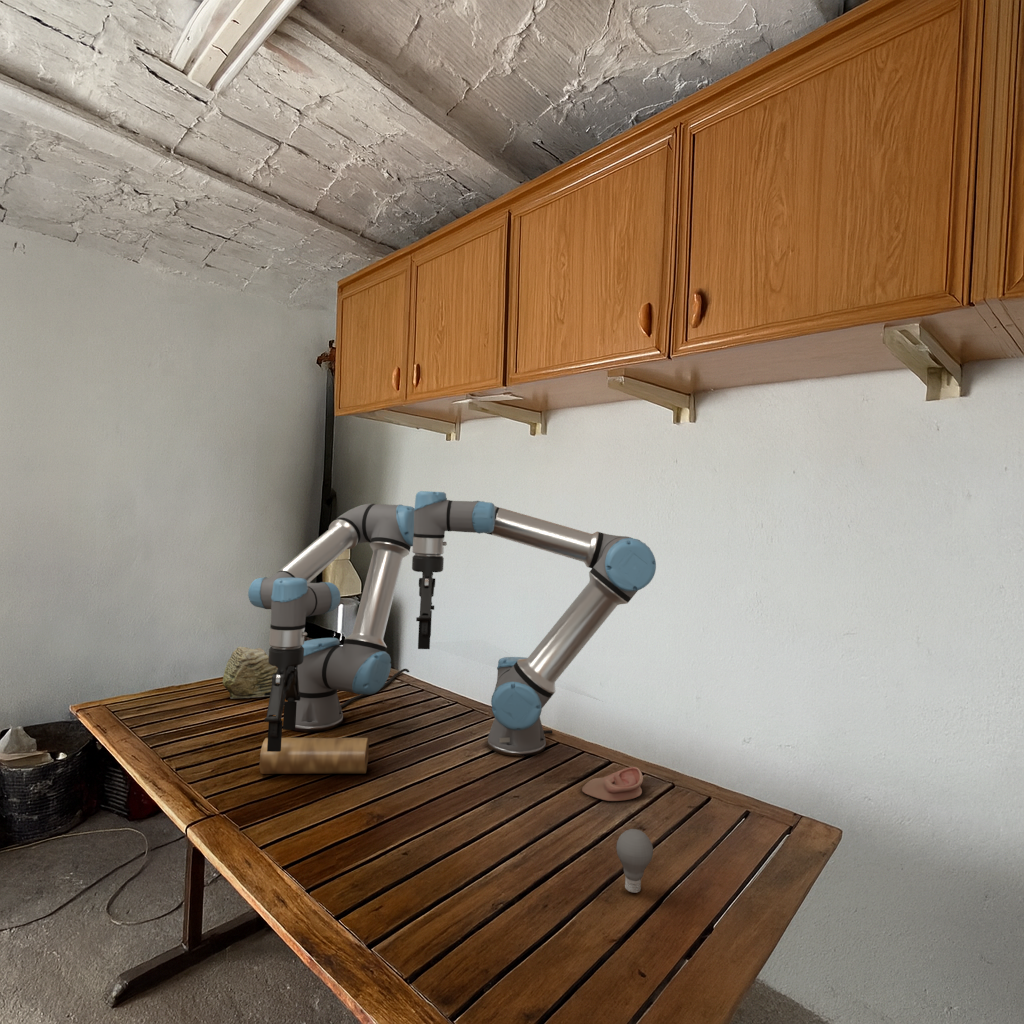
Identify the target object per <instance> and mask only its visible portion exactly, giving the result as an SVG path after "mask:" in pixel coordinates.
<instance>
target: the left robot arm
mask: <svg viewBox="0 0 1024 1024" xmlns="http://www.w3.org/2000/svg"><path fill="white" fill-rule="evenodd" d="M414 509H415V507H414V506H412V505H403V504H384V503H365V504H361V505H358V506H355V507H352V508H351V509H348V510H347V511H345V512H344V513H342V514H341V515H339V516H338V517H336V518H335V519H334V520H333V521H332V522H331V523H330V524H329V526H328V530H326V531H325V532H323V533H322V534H321V535H320V536H319V537H317V538H316V539H314V540H313V542H312V543H311V544H309V545H308V546H306V548H304V549H303V550H302V551H300V552H299V553H298V554H297V555H296V556H295V557H294V558H292V559H291V560H290V561H288V562H287V563H286V564H285V565H284V566H283V567H281V568H280V569H279V570H277V572H276V573H274V574H272V576H270V577H267V576H265V577H258V578H256V579H254V580H253V581H252V582H251V584H250V585H249V587H248V591H247V596H248V600H249V602H250V604H251V605H252V606H254V607H256V608H259V609H264V610H270V627H269V642H268V645H269V646H270V647H269V649H268V656H269V660H268V662H269V664H270V665H272V666H276V668H277V673H275V674H273V676H272V686H271V692H270V696H269V699H268V705H267V711H266V717H264V723H268V725H267V726H268V728H267V738H268V745H267V751H271V752H280V751H281V740H282V738H283V731H294V732H295V731H296V732H301V733H316V732H325V731H329V730H332V729H335V728H337V727H339V726H340V725H342V723H343V722H344V714H343V709H342V708H344V707H346V706H347V705H349V704H350V703H352V702H353V701H357V700H358V699H361V698H364V697H366V696H369V695H375V694H376V693H378V692H379V691H380V690H382V689H384V688H386V687H387V686H388V685H389V684H391V682H392V681H394V680H395V679H396V678H397V677H398V676H399V675H401V674H402V673H404V672H405V673H410V670H409V669H408V668H403V669H401V670H399V671H397V672H396V673H394V674H393V675H392V676H391V677H390V678H389V676H390V673H391V669H392V663H391V662H392V659H391V656H390V654H389V653H388V652H387V648H388V646H387V645H386V643H385V641H384V638H385V633H386V629H387V625H388V620H389V617H390V613H391V608H392V604H393V601H394V596H395V592H396V588H397V583H398V580H399V575H400V571H401V567H402V563H403V559H404V558H405V557H407V556H409V555H410V552H411V547H413V536H414ZM363 543H369V547H370V549H371V550H372V556H371V559H370V563H369V567H368V570H367V574H366V578H365V581H364V587H363V590H362V594H361V598H360V602H359V606H358V609H357V614H356V617H355V621H354V625H353V628H352V632H351V634H350V635H348V636H346V637H345V638H344V641H343V645H340V644H341V642H340V640H339V638H337V637H321V638H313V639H307V640H305V637H307V636H308V633H307V632H306V631H305V630H306V619H307V618H308V617H312V616H313V617H314V616H318V615H325V614H327V613H330V612H334V611H335V610H337V608H338V606H339V605H340V603H341V591H340V589H339V588H338V586H337V585H336V584H335V583H333V582H329V581H320V582H312V581H313V580H314V579H315V578H317V576H319V575H320V574H321V573H322V572H323V571H324V570H325V569H326V568H327V567H328V566H330V565H331V564H332V563H333V562H334V561H335V560H336V559H338V557H340V556H341V555H342V554H343V553H344V552H345V551H346V550H352V549H354V548H355V547H356V546H357V545H360V544H363ZM338 691H341V692H347V693H352V694H356V696H353V697H351V698H350V699H348V700H347V701H345V702H344V703H342V704H341V702H340V699H339V695H338ZM282 717H283V720H282Z"/></svg>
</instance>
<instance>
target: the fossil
mask: <svg viewBox="0 0 1024 1024" xmlns="http://www.w3.org/2000/svg"><path fill="white" fill-rule="evenodd" d="M268 660H269V654H267V653H266V652H265V650H264V649H263V648H260V647H258V648H251V647H247V646H246V647H245V646H238V647H237V648H236V649H235V650H233V651H232V653H231V656H230V657H229V659H228V660H227V663H226V666H225V668H224V671H223V675H222V676H223V677H222V685H223V687H224V688H225V690H226V691H228V693H229V698H230V699H250V698H264V697H270V692H271V686H272V676H273V674H275V673H277V667H276V666H272V665H270V664H269V662H268Z"/></svg>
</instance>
